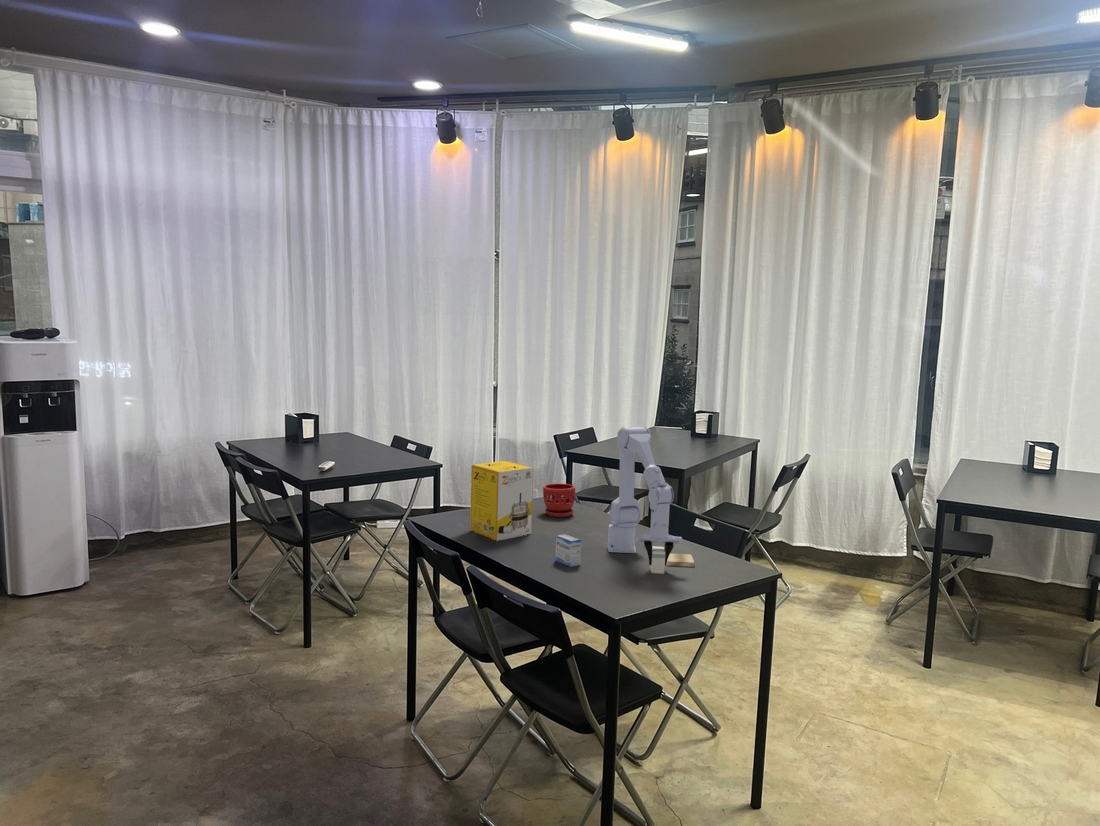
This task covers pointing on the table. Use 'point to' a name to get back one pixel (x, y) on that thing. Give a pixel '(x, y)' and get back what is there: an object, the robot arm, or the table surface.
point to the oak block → (680, 560)
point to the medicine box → (568, 550)
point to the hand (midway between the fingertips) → (657, 564)
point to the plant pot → (559, 499)
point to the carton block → (658, 559)
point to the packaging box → (501, 499)
